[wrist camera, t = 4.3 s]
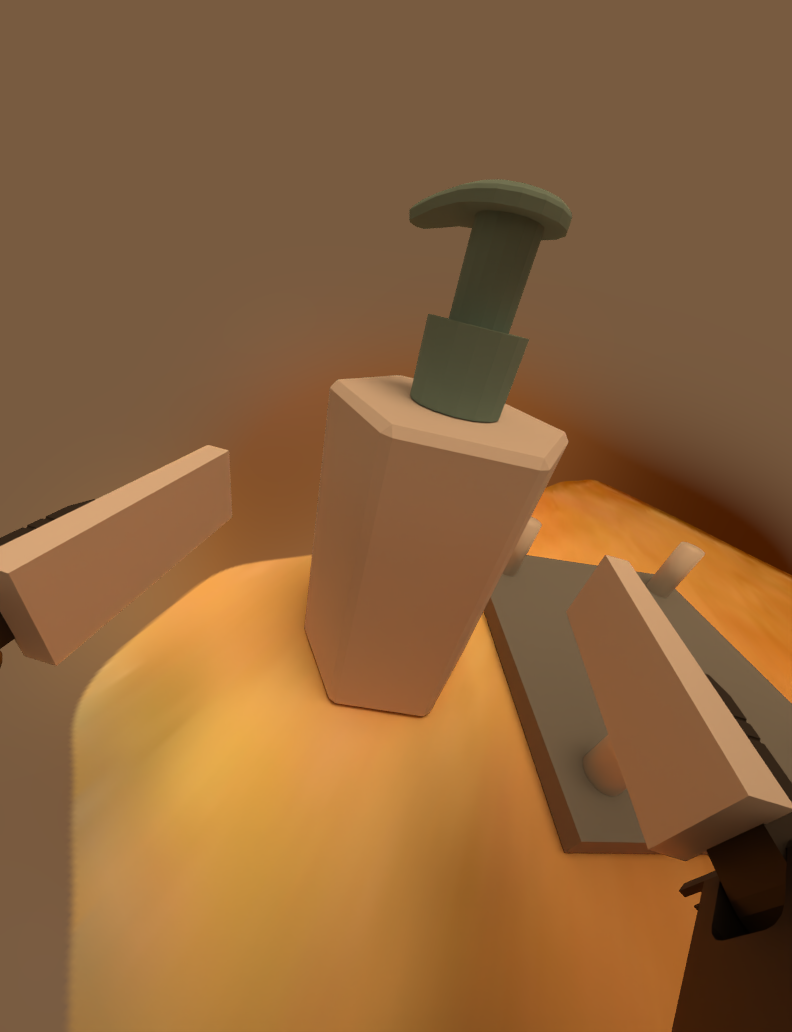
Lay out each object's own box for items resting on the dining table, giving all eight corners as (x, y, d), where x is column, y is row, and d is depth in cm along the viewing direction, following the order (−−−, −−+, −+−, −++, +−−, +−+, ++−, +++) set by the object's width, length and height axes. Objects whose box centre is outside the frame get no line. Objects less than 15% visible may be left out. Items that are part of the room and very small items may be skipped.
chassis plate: (652, 586, 35) (694, 535, 31) (908, 856, 18) (1058, 809, 15) (466, 559, 32) (491, 500, 28) (564, 852, 15) (653, 793, 12)
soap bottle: (372, 569, 28) (452, 228, 16) (474, 631, 25) (662, 260, 13) (271, 654, 20) (289, 104, 8) (402, 762, 17) (721, 107, 5)
